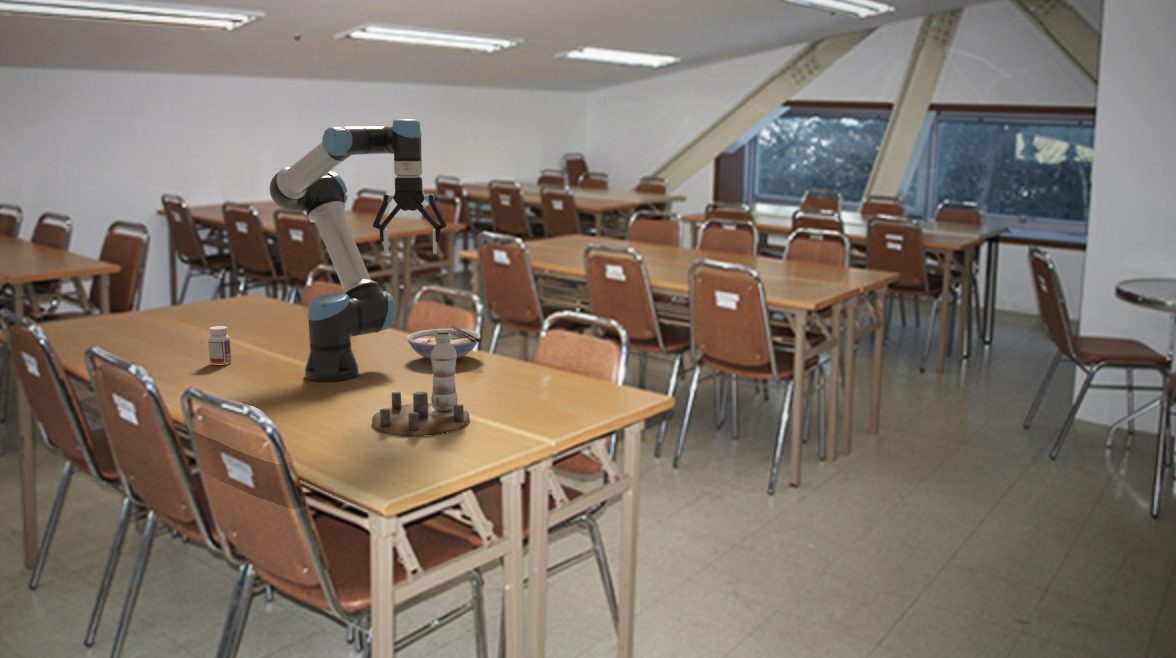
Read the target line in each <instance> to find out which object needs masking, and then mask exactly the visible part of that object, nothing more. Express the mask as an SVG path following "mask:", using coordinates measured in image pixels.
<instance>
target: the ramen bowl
mask: <svg viewBox="0 0 1176 658" xmlns="http://www.w3.org/2000/svg"><path fill="white" fill-rule="evenodd" d="M439 332H448V333H450V338H451V341H450V343H451V345H452V346H453V347H454V349H455V350H456V353H457V357H456V360H457V359H459V358H462V357H464V356H466V355H468V354H469V353H470V352H471V351H473V349H474V348H475V347H476V346H477V344H478V343H481V342H482V341H481V339H480V338H481V336H482V335H481V334H480V333H479V332H476V331H474V330H468V329H465V328H464V329H463V328H459V327H457V326H454V325H451V328H433V329H427V330H426V329H425V330H420V331H419V330H418V331H414V332H411V333H410V334H407V336H406V341H407V342H408V344H409V345H410V347H411V348H412V349H413V350H414V352H415V353H417V354H418V355H419V356H422V357H424V358H427V359H429V360H431V355H430V354H431V351H432V349H433V347H434V346H435V344H436V341H435V334H436V333H439Z"/></svg>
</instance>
